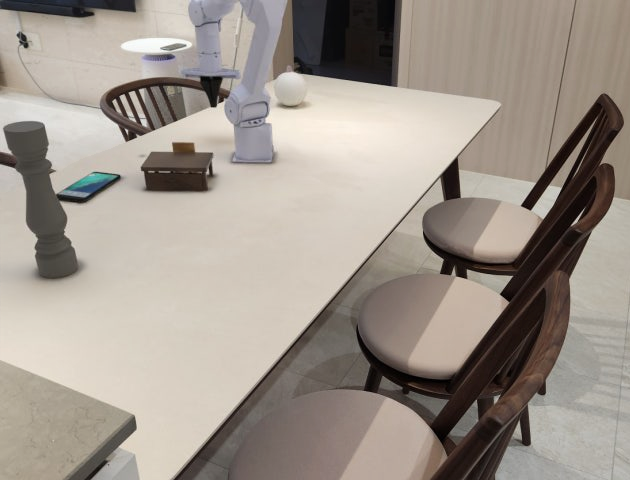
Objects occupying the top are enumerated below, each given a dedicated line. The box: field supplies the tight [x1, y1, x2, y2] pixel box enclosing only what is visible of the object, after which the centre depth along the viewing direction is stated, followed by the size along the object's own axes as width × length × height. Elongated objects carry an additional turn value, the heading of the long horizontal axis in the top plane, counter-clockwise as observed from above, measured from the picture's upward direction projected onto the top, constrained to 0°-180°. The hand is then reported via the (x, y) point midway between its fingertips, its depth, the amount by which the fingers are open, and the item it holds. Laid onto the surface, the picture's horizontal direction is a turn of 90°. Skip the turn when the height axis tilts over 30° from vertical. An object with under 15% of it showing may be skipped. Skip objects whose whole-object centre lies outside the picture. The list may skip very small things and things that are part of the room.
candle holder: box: [2, 120, 79, 279], centre depth 103 cm, size 6×6×25 cm
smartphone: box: [55, 171, 122, 203], centre depth 139 cm, size 7×1×15 cm
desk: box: [140, 151, 214, 192], centre depth 143 cm, size 14×10×6 cm
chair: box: [169, 141, 196, 173], centre depth 146 cm, size 5×6×7 cm
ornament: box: [273, 65, 308, 107], centre depth 199 cm, size 10×10×12 cm
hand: (213, 106), depth 165 cm, fingers closed
